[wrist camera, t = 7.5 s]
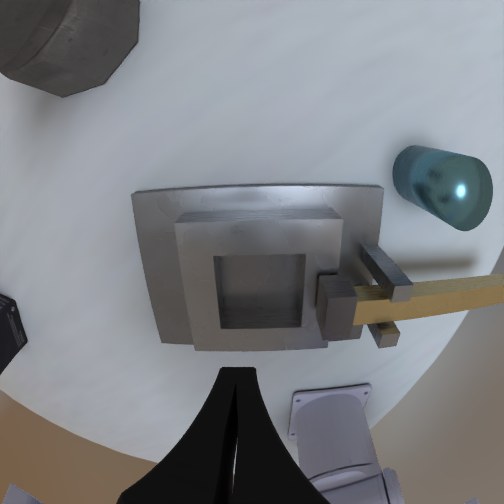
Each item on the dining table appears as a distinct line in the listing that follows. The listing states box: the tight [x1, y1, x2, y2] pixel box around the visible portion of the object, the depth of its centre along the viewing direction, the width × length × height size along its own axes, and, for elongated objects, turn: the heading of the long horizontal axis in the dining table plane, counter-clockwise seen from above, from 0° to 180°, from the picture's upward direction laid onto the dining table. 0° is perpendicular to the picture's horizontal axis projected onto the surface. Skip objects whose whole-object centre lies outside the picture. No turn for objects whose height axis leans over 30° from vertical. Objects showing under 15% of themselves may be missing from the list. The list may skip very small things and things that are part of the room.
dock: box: [131, 184, 414, 351], centre depth 17 cm, size 12×16×6 cm
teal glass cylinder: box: [393, 146, 493, 231], centre depth 14 cm, size 4×4×6 cm
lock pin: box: [316, 274, 504, 341], centre depth 15 cm, size 3×16×2 cm, turn 92°
